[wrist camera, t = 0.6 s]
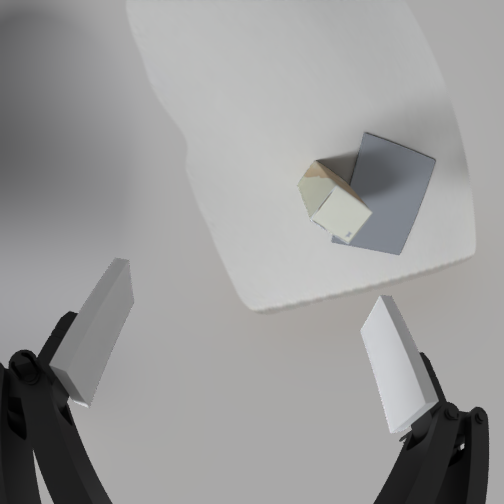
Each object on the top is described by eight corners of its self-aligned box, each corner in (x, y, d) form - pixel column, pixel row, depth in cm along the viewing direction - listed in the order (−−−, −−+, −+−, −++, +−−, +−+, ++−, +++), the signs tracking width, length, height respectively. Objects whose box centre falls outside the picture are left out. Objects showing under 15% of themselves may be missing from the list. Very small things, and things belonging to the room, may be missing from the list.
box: (345, 180, 34) (376, 214, 25) (326, 205, 36) (349, 247, 27) (313, 158, 33) (336, 184, 24) (294, 185, 35) (309, 221, 26)
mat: (364, 132, 31) (365, 133, 31) (434, 159, 32) (435, 160, 32) (331, 241, 39) (331, 242, 39) (398, 253, 40) (399, 255, 40)
